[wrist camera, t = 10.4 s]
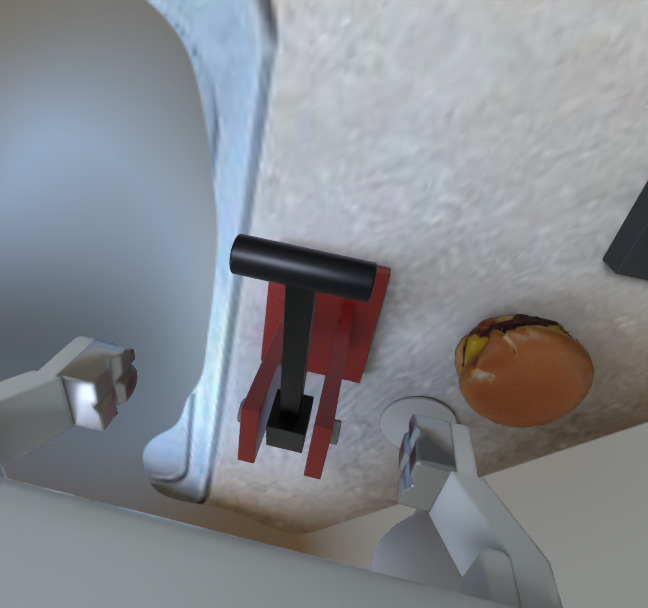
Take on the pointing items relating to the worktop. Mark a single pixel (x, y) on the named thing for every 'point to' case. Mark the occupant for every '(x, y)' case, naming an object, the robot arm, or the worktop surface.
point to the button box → (632, 242)
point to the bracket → (312, 365)
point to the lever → (298, 317)
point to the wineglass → (417, 530)
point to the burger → (522, 370)
